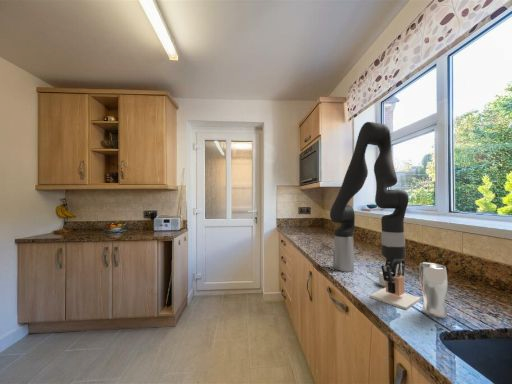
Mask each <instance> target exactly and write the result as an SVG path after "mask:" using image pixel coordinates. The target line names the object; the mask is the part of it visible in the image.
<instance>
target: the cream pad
mask: <svg viewBox="0 0 512 384" xmlns="http://www.w3.org/2000/svg"><path fill="white" fill-rule="evenodd" d="M369 297H370V298H371V299H375V300H377V301H379V302H383V303H385V304H388V305H391V306H393V307H397V308H399V309H403V310H406V311H407V310H409V309H410V308H411V307H413V306H414V305H416V304H417V303H418V302H420V301H421V300H422V299H421V296H416V295H413V294H409V293H406V292H405V293H404V294H402V295H400V296H397V295H394V294H391V293H388V292H386V286H384V287H383V288H381V289H379V290H377V291H375V292H373V293H371V294H370V295H369Z"/></svg>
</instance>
